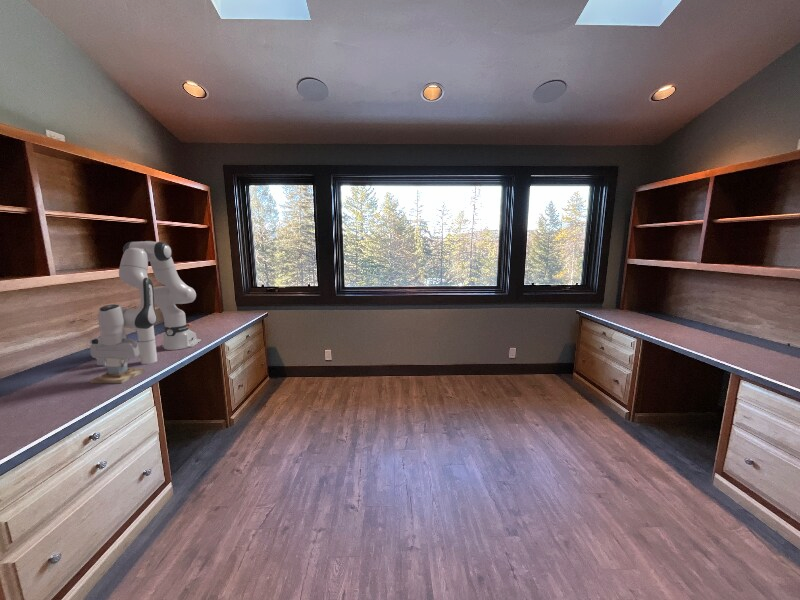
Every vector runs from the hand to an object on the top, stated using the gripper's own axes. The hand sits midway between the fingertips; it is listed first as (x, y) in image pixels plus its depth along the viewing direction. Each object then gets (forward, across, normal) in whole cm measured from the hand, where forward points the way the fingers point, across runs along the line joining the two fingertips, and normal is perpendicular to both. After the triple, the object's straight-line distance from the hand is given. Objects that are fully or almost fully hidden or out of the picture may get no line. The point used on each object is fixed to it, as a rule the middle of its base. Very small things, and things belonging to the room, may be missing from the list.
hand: (117, 366), depth 151 cm
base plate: (+6, 0, 0) cm, 6 cm away
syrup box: (+6, +21, -18) cm, 28 cm away
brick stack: (+3, 0, 0) cm, 3 cm away
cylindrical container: (+6, +1, -21) cm, 22 cm away
